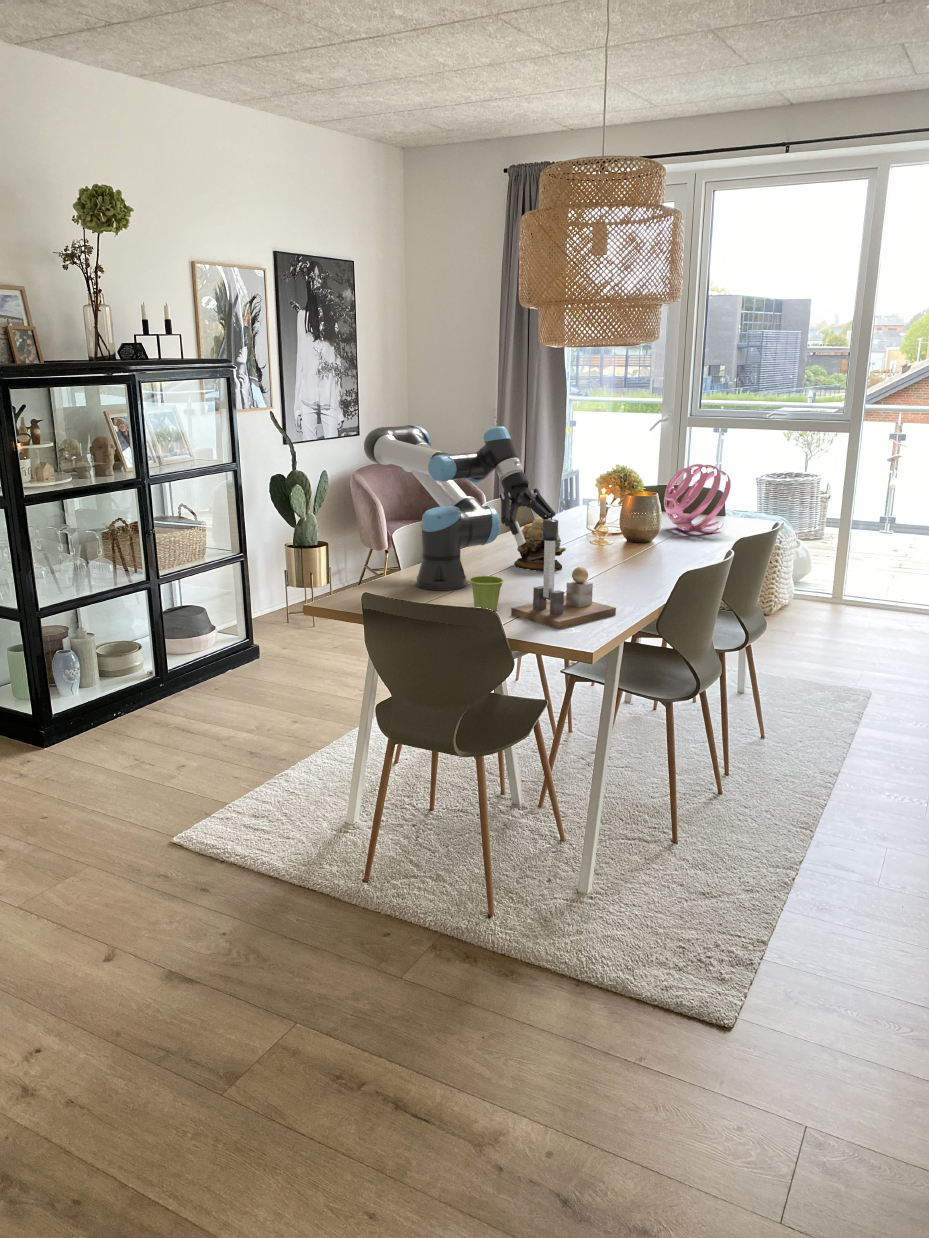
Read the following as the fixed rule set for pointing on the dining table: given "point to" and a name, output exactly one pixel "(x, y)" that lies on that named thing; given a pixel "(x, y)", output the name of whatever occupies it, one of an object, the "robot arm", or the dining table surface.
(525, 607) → the base
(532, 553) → the brown lumpy mound
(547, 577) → the lever
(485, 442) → the robot arm
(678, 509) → the spiral basket
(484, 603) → the plant pot
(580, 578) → the wooden ball
